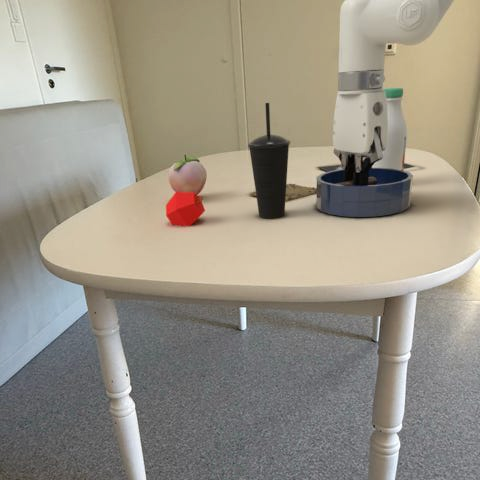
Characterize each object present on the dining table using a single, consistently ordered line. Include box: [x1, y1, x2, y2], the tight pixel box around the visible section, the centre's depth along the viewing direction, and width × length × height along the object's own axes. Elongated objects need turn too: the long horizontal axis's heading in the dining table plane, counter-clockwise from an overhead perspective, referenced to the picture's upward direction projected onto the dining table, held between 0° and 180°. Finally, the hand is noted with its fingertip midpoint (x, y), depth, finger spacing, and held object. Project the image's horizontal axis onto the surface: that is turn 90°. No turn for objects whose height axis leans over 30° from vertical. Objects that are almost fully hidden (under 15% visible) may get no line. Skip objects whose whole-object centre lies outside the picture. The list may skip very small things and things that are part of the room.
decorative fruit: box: [167, 154, 208, 196], centre depth 102 cm, size 9×8×10 cm
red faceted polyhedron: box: [165, 192, 206, 227], centre depth 85 cm, size 7×7×8 cm
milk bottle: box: [372, 87, 408, 171], centre depth 97 cm, size 8×8×20 cm
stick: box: [337, 177, 377, 185], centre depth 85 cm, size 10×2×2 cm, turn 117°
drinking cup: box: [247, 102, 291, 220], centre depth 81 cm, size 8×8×20 cm
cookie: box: [249, 183, 317, 203], centre depth 102 cm, size 12×12×1 cm
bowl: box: [316, 168, 414, 218], centre depth 86 cm, size 18×18×6 cm
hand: (355, 190), depth 85 cm, fingers closed on stick, 2 cm apart
